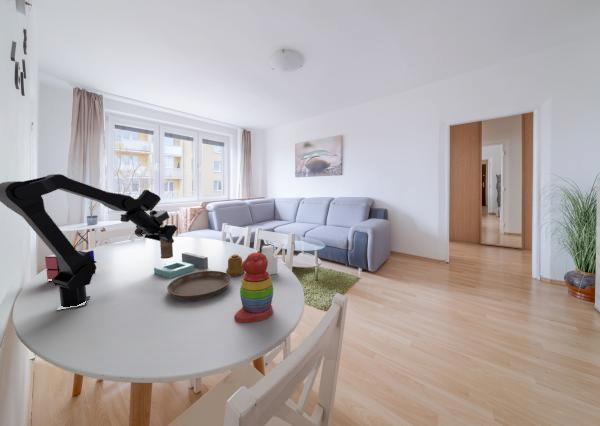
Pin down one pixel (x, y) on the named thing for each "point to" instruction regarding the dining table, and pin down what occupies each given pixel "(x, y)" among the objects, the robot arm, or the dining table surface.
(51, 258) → the puzzle cube
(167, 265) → the socket block
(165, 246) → the walnut dowel
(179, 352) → the dining table surface
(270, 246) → the medicine bottle
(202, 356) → the dining table surface
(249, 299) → the stacking bear
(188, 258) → the charcoal wall
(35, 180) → the robot arm
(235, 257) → the ornamental finial
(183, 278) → the plant saucer
